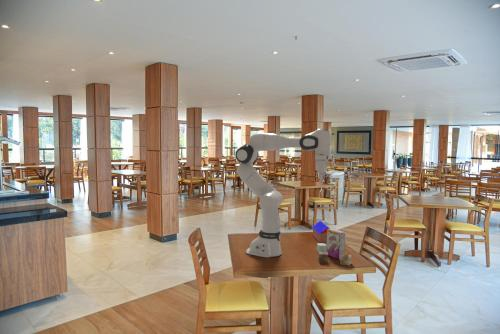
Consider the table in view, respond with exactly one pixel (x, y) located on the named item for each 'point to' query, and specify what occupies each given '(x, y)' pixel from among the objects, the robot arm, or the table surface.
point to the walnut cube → (323, 257)
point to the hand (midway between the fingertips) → (322, 179)
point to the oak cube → (345, 259)
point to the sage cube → (321, 247)
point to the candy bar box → (335, 243)
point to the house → (320, 232)
